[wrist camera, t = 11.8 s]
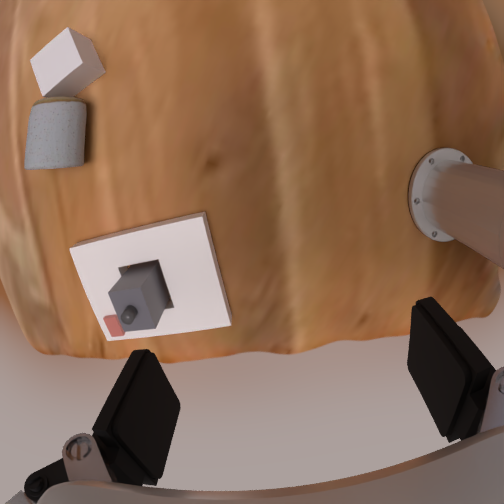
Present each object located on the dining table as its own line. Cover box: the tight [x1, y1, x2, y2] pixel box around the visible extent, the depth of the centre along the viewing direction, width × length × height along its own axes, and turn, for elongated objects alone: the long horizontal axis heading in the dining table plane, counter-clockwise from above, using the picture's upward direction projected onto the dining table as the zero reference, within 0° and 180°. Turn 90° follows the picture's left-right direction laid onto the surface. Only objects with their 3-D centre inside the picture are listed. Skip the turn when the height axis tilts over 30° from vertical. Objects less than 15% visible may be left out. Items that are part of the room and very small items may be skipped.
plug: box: [108, 259, 170, 332], centre depth 33 cm, size 4×5×10 cm
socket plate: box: [69, 212, 232, 341], centre depth 36 cm, size 18×14×3 cm
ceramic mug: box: [25, 96, 87, 170], centre depth 27 cm, size 11×8×8 cm
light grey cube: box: [30, 27, 106, 97], centre depth 25 cm, size 6×6×6 cm
